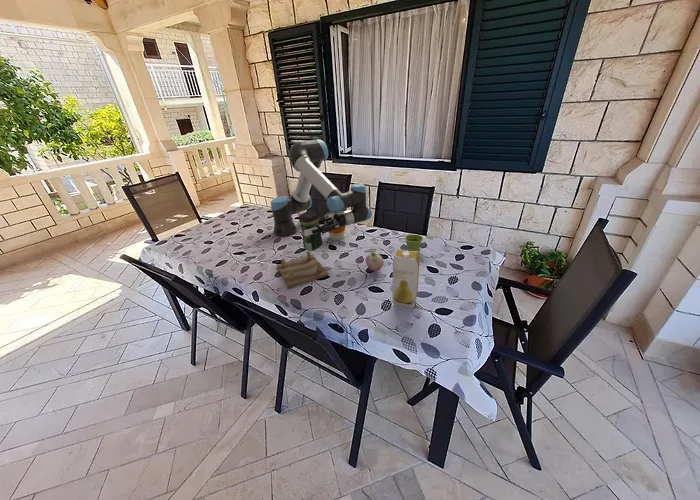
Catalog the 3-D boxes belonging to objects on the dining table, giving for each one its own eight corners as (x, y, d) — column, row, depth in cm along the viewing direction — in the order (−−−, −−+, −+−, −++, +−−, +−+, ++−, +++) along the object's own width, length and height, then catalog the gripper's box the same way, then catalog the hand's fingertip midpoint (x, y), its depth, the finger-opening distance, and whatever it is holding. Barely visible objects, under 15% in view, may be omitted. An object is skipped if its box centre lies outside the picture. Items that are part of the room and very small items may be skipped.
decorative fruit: (386, 273, 130) (386, 255, 125) (370, 277, 128) (369, 259, 123) (379, 264, 138) (379, 247, 133) (364, 267, 136) (363, 250, 131)
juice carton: (391, 306, 109) (391, 254, 97) (395, 294, 115) (396, 244, 104) (414, 311, 105) (418, 257, 94) (417, 298, 112) (421, 247, 100)
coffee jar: (313, 241, 141) (308, 207, 132) (325, 244, 137) (321, 209, 128) (300, 249, 134) (294, 213, 125) (313, 252, 130) (307, 216, 121)
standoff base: (276, 267, 141) (274, 257, 139) (312, 256, 149) (311, 247, 146) (289, 288, 124) (286, 277, 121) (328, 275, 132) (327, 264, 129)
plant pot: (401, 253, 146) (401, 238, 142) (410, 246, 152) (411, 232, 148) (416, 258, 141) (417, 243, 136) (425, 251, 146) (426, 237, 142)
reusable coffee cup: (350, 237, 168) (349, 214, 161) (334, 243, 162) (331, 220, 155) (339, 231, 177) (337, 209, 170) (323, 237, 171) (320, 214, 164)
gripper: (354, 232, 131) (310, 245, 122) (334, 219, 147) (295, 229, 138) (353, 218, 127) (308, 230, 118) (333, 206, 144) (292, 216, 135)
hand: (301, 229), depth 128 cm, fingers closed on coffee jar, 8 cm apart
